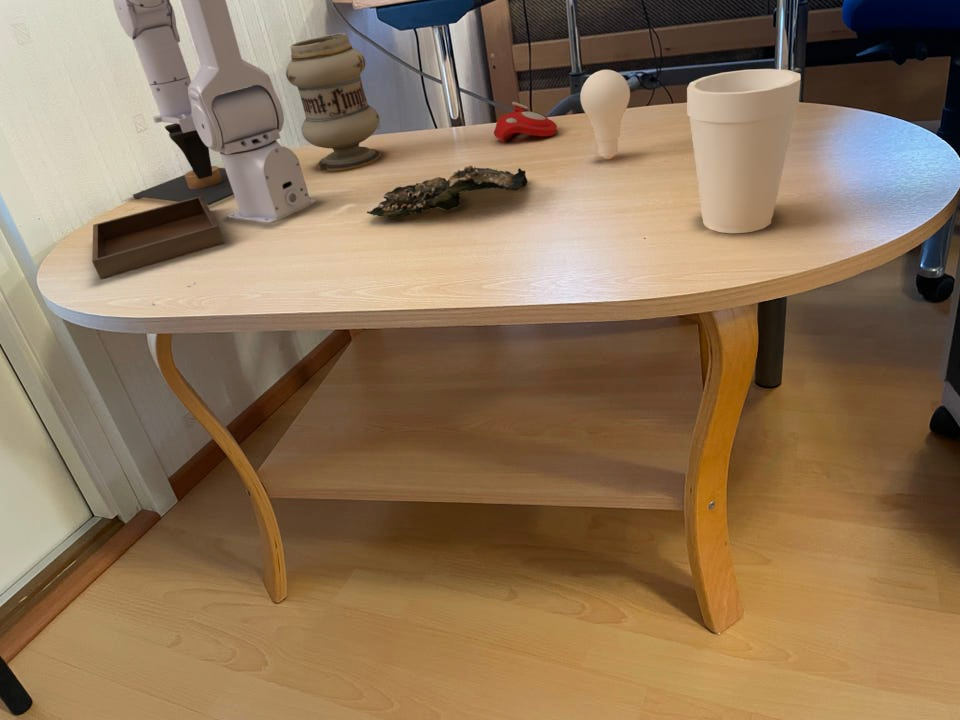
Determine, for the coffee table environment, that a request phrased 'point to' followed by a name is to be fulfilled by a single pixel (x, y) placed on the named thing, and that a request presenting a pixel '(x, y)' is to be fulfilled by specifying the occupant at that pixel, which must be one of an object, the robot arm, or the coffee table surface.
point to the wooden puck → (203, 179)
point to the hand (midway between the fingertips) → (202, 172)
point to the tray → (153, 236)
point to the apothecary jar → (334, 100)
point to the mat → (188, 190)
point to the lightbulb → (605, 108)
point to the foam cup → (741, 144)
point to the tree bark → (445, 191)
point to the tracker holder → (523, 123)
